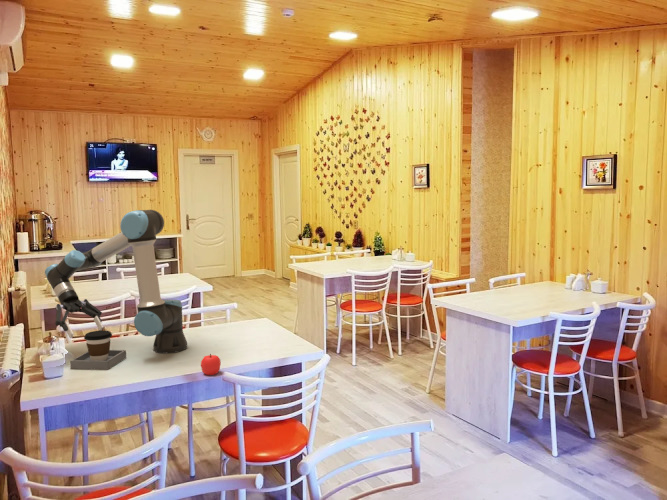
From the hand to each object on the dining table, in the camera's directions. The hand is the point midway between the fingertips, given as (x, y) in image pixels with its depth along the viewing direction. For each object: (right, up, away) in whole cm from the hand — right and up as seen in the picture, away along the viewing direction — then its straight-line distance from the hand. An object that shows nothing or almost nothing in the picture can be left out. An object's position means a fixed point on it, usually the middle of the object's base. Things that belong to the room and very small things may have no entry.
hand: (87, 332), depth 234 cm
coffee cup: (+6, -12, -3) cm, 14 cm away
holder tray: (+6, -13, -3) cm, 14 cm away
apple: (+57, -14, -17) cm, 61 cm away
